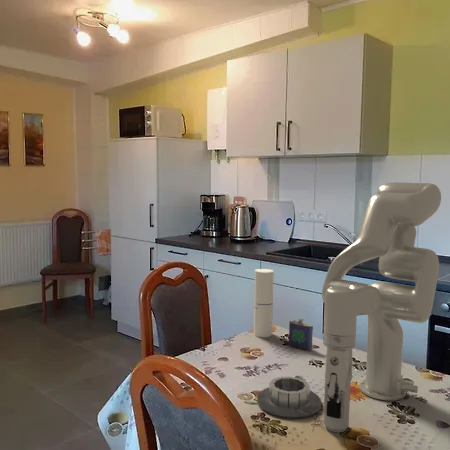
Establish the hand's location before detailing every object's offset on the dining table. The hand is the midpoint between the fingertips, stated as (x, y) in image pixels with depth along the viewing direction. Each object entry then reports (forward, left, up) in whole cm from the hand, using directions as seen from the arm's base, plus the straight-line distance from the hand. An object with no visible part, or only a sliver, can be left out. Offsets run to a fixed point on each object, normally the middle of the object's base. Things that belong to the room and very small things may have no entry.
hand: (336, 410), depth 117 cm
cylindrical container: (+40, -58, -5) cm, 71 cm away
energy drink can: (0, 0, -5) cm, 5 cm away
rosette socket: (+14, -7, -4) cm, 16 cm away
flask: (+23, -50, -5) cm, 55 cm away
